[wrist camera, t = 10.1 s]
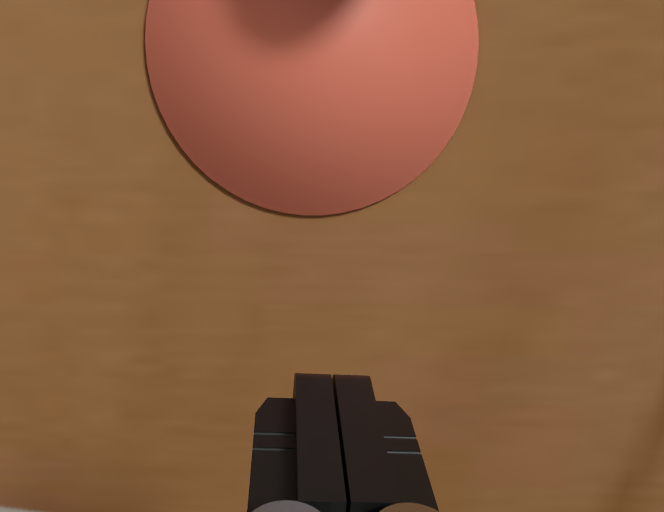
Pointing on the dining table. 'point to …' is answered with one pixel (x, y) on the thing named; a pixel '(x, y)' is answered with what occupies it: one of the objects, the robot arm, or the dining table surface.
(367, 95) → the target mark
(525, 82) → the dining table surface
